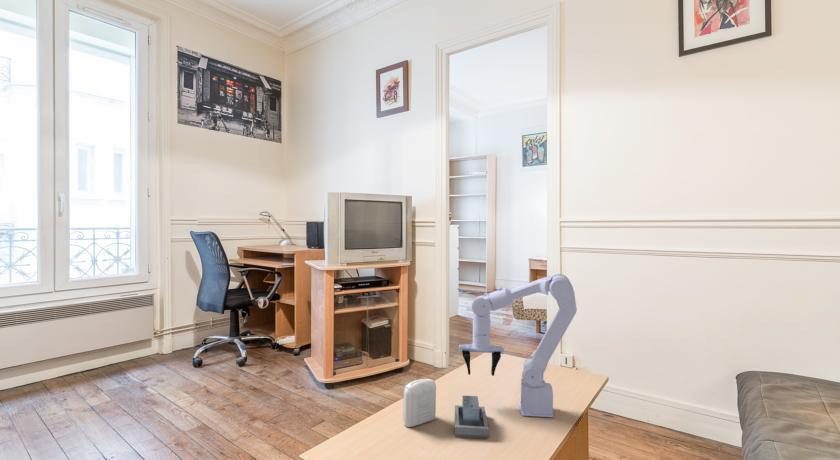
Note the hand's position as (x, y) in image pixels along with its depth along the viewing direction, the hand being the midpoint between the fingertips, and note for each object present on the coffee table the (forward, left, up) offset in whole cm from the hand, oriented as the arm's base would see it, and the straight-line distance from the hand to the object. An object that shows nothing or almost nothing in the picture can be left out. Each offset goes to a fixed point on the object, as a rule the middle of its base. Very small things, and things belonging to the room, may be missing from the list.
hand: (480, 374), depth 127 cm
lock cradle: (+4, +15, -9) cm, 18 cm away
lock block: (+4, +15, -9) cm, 17 cm away
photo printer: (+19, +14, -10) cm, 26 cm away
